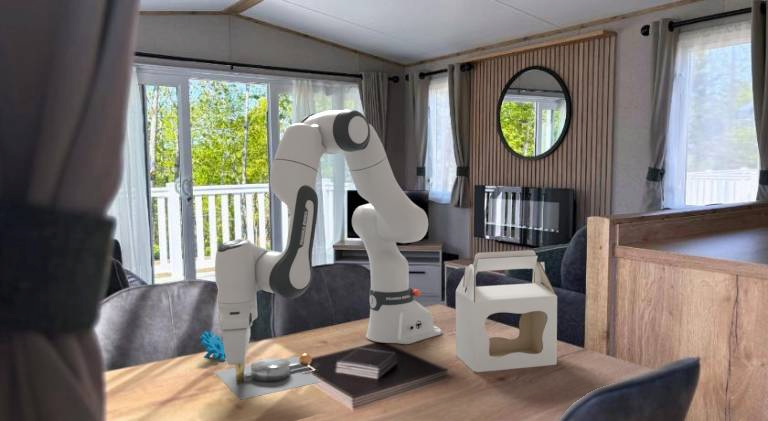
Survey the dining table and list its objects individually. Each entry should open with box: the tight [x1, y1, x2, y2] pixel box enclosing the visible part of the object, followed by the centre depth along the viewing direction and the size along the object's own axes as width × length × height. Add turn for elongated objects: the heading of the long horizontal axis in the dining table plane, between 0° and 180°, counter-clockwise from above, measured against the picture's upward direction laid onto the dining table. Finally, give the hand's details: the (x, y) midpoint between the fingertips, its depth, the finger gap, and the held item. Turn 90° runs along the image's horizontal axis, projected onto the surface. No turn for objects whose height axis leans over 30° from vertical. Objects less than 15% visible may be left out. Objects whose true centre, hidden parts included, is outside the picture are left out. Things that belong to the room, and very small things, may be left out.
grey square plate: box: [213, 356, 322, 401], centre depth 137 cm, size 21×20×1 cm
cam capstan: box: [235, 352, 313, 383], centre depth 137 cm, size 10×19×5 cm, turn 125°
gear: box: [199, 331, 226, 362], centre depth 152 cm, size 11×6×10 cm
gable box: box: [455, 249, 558, 374], centre depth 148 cm, size 22×13×28 cm, turn 103°
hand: (240, 370), depth 135 cm, fingers closed
